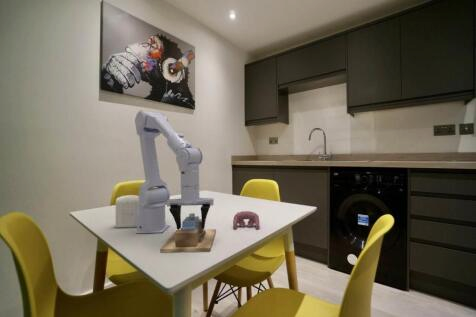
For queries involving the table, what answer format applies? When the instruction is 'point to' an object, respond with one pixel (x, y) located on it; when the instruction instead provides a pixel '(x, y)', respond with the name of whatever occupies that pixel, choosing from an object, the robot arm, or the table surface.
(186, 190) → the robot arm
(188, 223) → the servo
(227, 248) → the table surface
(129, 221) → the photo printer
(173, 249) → the bread on cutting board
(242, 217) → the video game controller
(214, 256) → the table surface
